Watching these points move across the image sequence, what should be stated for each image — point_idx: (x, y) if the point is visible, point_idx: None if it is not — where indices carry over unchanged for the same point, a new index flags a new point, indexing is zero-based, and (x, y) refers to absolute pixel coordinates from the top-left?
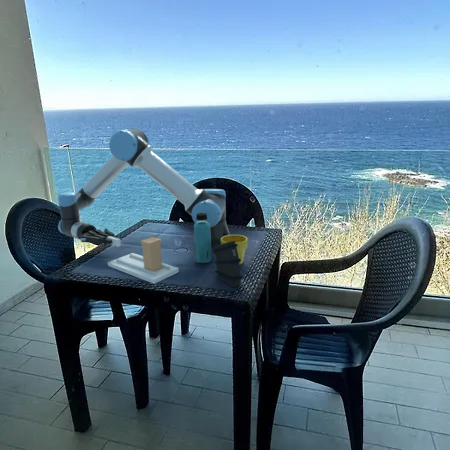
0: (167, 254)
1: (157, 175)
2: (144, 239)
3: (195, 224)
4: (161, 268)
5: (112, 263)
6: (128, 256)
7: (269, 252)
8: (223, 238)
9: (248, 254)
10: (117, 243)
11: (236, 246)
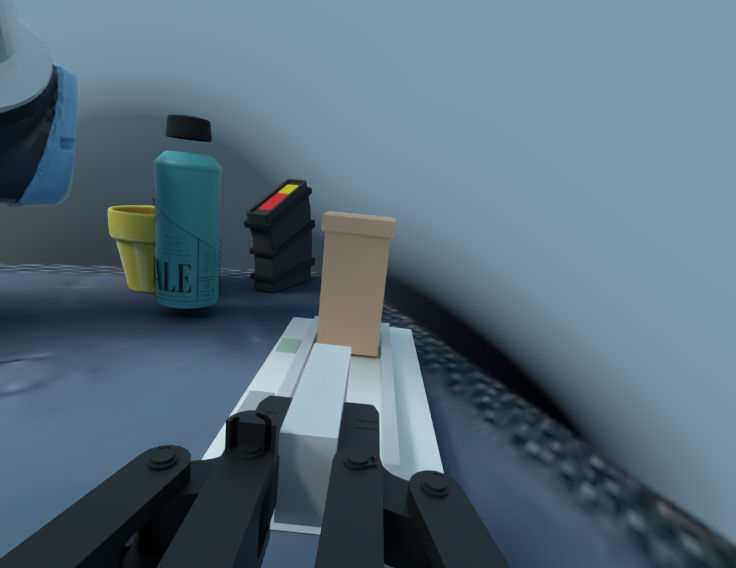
0: (99, 394)
1: None
2: (373, 219)
3: (206, 160)
4: None
5: None
6: None
7: (57, 265)
8: (144, 218)
9: (78, 278)
10: (348, 377)
11: None
